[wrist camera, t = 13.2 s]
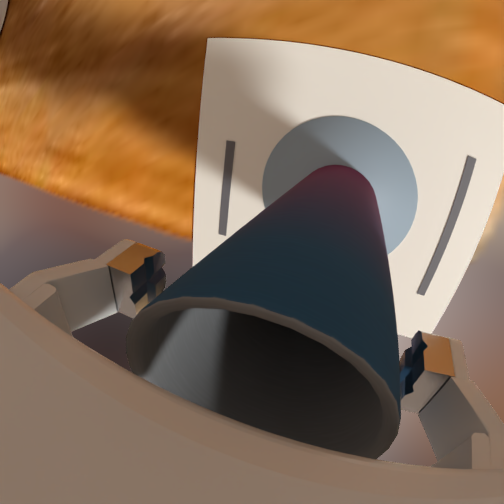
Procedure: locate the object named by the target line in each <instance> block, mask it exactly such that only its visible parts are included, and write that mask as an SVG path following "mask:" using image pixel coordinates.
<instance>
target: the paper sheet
mask: <svg viewBox="0 0 504 504" xmlns="http://www.w3.org/2000/svg"><path fill="white" fill-rule="evenodd" d="M327 165H343V166H347V167H350V168H353V169H355V170H357V171H358V172H359V173H361V174H362V175H363V176H364V177H365V178H366V179H367V180H368V181H369V182H370V184H371V186H372V187H373V189H374V192H375V195H376V199H377V203H378V208H379V213H380V217H381V222H382V227H383V233H384V238H385V243H386V249H387V255H388V261H389V268H390V274H391V281H392V289H393V297H394V305H395V314H396V324H397V334H400V335H403V336H406V337H410V338H413V336H414V335H415V333H416V332H417V331H418V330H419V331H423V332H427V333H430V334H432V332H433V330H434V329H435V327H436V325H437V324H438V322H439V320H440V319H441V316H442V315H443V313H444V311H445V310H446V308H447V306H448V304H449V303H450V301H451V299H452V297H453V295H454V293H455V291H456V289H457V287H458V285H459V283H460V281H461V279H462V277H463V275H464V273H465V271H466V269H467V267H468V265H469V263H470V261H471V259H472V256H473V254H474V252H475V250H476V247H477V245H478V243H479V240H480V238H481V235H482V233H483V231H484V228H485V226H486V223H487V220H488V218H489V215H490V212H491V210H492V207H493V204H494V201H495V198H496V195H497V192H498V189H499V186H500V183H501V180H502V177H503V173H504V104H502V103H500V102H498V101H496V100H494V99H492V98H490V97H487V96H485V95H483V94H481V93H479V92H477V91H474V90H472V89H470V88H467V87H465V86H463V85H460V84H458V83H455V82H453V81H450V80H447V79H445V78H442V77H439V76H437V75H434V74H431V73H428V72H425V71H422V70H419V69H416V68H413V67H409V66H406V65H403V64H399V63H396V62H392V61H389V60H385V59H381V58H377V57H373V56H369V55H365V54H360V53H355V52H351V51H346V50H341V49H335V48H329V47H323V46H317V45H310V44H303V43H295V42H286V41H275V40H262V39H243V38H208V40H207V49H206V57H205V66H204V75H203V85H202V95H201V106H200V118H199V131H198V145H197V160H196V177H195V198H194V225H193V266H195V265H196V264H197V263H198V262H199V261H201V260H202V259H203V258H204V257H206V256H207V255H208V254H209V253H211V252H212V251H213V250H214V249H215V248H217V247H218V246H219V245H220V244H222V243H223V242H224V241H225V240H227V239H228V238H229V237H230V236H232V235H233V234H234V233H235V232H237V231H238V230H239V229H240V228H242V227H243V226H244V225H245V224H247V223H248V222H249V221H250V220H252V219H253V218H254V217H255V216H257V215H258V214H259V213H260V212H262V211H263V210H264V209H266V208H267V207H268V206H269V205H271V204H272V203H273V202H274V201H276V200H277V199H278V198H280V197H281V196H282V195H283V194H285V193H286V192H287V191H288V190H290V189H291V188H292V187H294V186H295V185H296V184H298V183H299V182H300V181H301V180H303V179H304V178H305V177H307V176H308V175H309V174H310V173H312V172H313V171H315V170H317V169H318V168H321V167H324V166H327Z"/></svg>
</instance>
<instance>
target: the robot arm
mask: <svg viewBox="0 0 504 504" xmlns="http://www.w3.org/2000/svg"><path fill="white" fill-rule="evenodd" d="M7 4H8V0H0V32H1V28H2V25H3V22H4V18H5V14H6V9H7ZM164 264H165V254H163V252H162V251H159V250H156V249H154V248H151V247H148V246H145V245H143V244H140V243H137V242H134V241H132V240H129V239H123V240H122V241H121V242H119V243H118V244H116V245H115V246H113V247H112V248H110V249H109V250H108V251H106V252H105V253H103V254H102V255H100V256H99V257H98V258H96V259H95V260H93V259H87V260H83V261H79V262H74V263H70V264H66V265H61V266H57V267H53V268H48V269H44V270H40V271H36V272H32V273H31V274H30V275H28V276H27V277H26V278H24V279H23V280H21V281H20V282H19V283H17V284H16V285H15V286H13V287H12V288H11V289H9V290H8V289H7V288H6V287H5V286H4V285H2V284H1V283H0V504H504V424H503V422H502V421H501V419H500V418H499V416H498V415H497V413H496V412H495V411H494V409H493V408H492V406H491V405H490V403H489V402H488V401H487V399H486V398H485V397H484V395H483V394H482V392H481V391H480V390H479V388H478V387H477V386H476V384H475V383H474V382H473V381H470V380H469V374H468V369H467V363H466V358H465V353H464V349H463V344H462V342H461V341H460V340H456V339H452V338H448V337H447V338H446V337H442V336H438V335H434V334H430V333H427V332H423V331H419V330H418V331H417V332H416V333H415V335H414V336H413V338H412V347H410V348H408V349H406V350H405V351H404V353H403V355H402V356H401V358H400V361H399V365H400V393H401V410H405V411H409V412H414V413H418V416H419V418H420V421H421V423H422V425H423V427H424V430H425V432H426V434H427V437H428V439H429V441H430V443H431V446H432V449H433V451H434V453H435V456H436V458H437V461H438V462H437V463H435V464H434V465H432V466H431V467H428V466H418V465H409V464H402V463H395V462H389V461H382V460H377V459H371V458H366V457H361V456H356V455H351V454H347V453H342V452H338V451H334V450H329V449H325V448H321V447H318V446H314V445H310V444H306V443H303V442H299V441H296V440H293V439H289V438H286V437H283V436H279V435H276V434H273V433H270V432H267V431H264V430H261V429H258V428H255V427H253V426H250V425H247V424H244V423H242V422H239V421H236V420H234V419H231V418H228V417H226V416H223V415H221V414H218V413H216V412H214V411H211V410H209V409H206V408H204V407H202V406H199V405H197V404H195V403H193V402H190V401H188V400H186V399H184V398H181V397H179V396H177V395H175V394H173V393H171V392H169V391H167V390H165V389H163V388H161V387H159V386H157V385H155V384H153V383H151V382H149V381H147V380H145V379H143V378H141V377H139V376H137V375H135V374H134V373H132V372H130V371H128V370H126V369H124V368H122V367H121V366H119V365H117V364H116V363H114V362H112V361H110V360H109V359H107V358H105V357H103V356H102V355H100V354H99V353H97V352H95V351H94V350H92V349H90V348H89V347H87V346H86V345H84V344H83V343H81V342H80V341H78V340H76V339H75V338H73V336H72V333H71V331H74V330H76V329H78V328H81V327H83V326H86V325H88V324H90V323H93V322H95V321H98V320H100V319H103V318H105V317H107V316H110V315H112V314H115V313H117V311H118V312H120V313H122V314H125V315H127V316H129V317H131V318H135V317H136V315H137V314H138V313H139V312H140V311H141V310H142V309H143V308H144V307H145V306H146V305H147V304H149V302H151V301H152V300H153V299H155V298H156V297H157V296H158V295H159V294H161V293H162V292H163V291H164V288H165V285H166V274H165V272H164V270H163V269H162V267H163V266H164Z"/></svg>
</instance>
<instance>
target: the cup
mask: <svg viewBox="0 0 504 504" xmlns="http://www.w3.org/2000/svg"><path fill="white" fill-rule="evenodd" d="M398 349H399V348H398V335H397V324H396V314H395V305H394V297H393V289H392V281H391V274H390V268H389V261H388V255H387V249H386V243H385V238H384V233H383V227H382V222H381V217H380V213H379V208H378V203H377V199H376V195H375V192H374V189H373V187H372V186H371V184H370V182H369V181H368V180H367V179H366V178H365V177H364V176H363V175H362V174H361V173H359V172H358V171H357V170H355V169H353V168H350V167H347V166H343V165H327V166H324V167H321V168H318V169H317V170H315V171H313V172H312V173H310V174H309V175H308V176H307V177H305V178H304V179H303V180H301V181H300V182H299V183H298V184H296V185H295V186H294V187H292V188H291V189H290V190H288V191H287V192H286V193H285V194H283V195H282V196H281V197H280V198H278V199H277V200H276V201H274V202H273V203H272V204H271V205H269V206H268V207H267V208H266V209H264V210H263V211H262V212H260V213H259V214H258V215H257V216H255V217H254V218H253V219H252V220H250V221H249V222H248V223H247V224H245V225H244V226H243V227H242V228H240V229H239V230H238V231H237V232H235V233H234V234H233V235H232V236H230V237H229V238H228V239H227V240H225V241H224V242H223V243H222V244H220V245H219V246H218V247H217V248H215V249H214V250H213V251H212V252H211V253H209V254H208V255H207V256H206V257H204V258H203V259H202V260H201V261H199V262H198V263H197V264H196V265H195V266H193V267H192V268H191V269H190V270H188V271H187V272H186V273H185V274H184V275H182V276H181V277H180V278H179V279H177V280H176V281H175V282H174V283H173V284H171V285H170V286H169V287H168V288H167V289H165V290H164V291H163V292H162V293H161V294H159V295H158V296H157V297H156V298H155V299H153V300H152V301H151V302H150V303H149V304H147V305H146V306H145V307H144V308H143V309H142V310H141V311H140V312H139V313H138V314H137V315H136V317H135V318H134V319H133V320H132V322H131V323H130V326H129V330H128V333H127V336H126V354H127V358H128V361H129V365H130V368H131V370H132V373H134V374H135V375H137V376H139V377H141V378H143V379H145V380H147V381H149V382H151V383H153V384H155V385H157V386H159V387H161V388H163V389H165V390H167V391H169V392H171V393H173V394H175V395H177V396H179V397H181V398H184V399H186V400H188V401H190V402H193V403H195V404H197V405H199V406H202V407H204V408H206V409H209V410H211V411H214V412H216V413H218V414H221V415H223V416H226V417H228V418H231V419H234V420H236V421H239V422H242V423H244V424H247V425H250V426H253V427H255V428H258V429H261V430H264V431H267V432H270V433H273V434H276V435H279V436H283V437H286V438H289V439H293V440H296V441H299V442H303V443H306V444H310V445H314V446H318V447H321V448H325V449H329V450H334V451H338V452H342V453H347V454H351V455H356V456H361V457H366V458H371V459H377V458H378V457H379V456H381V455H382V454H383V453H384V452H385V451H386V450H388V449H389V447H390V445H391V444H392V442H393V441H394V439H395V438H396V436H397V434H398V429H399V424H400V419H401V393H400V365H399V350H398Z"/></svg>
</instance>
